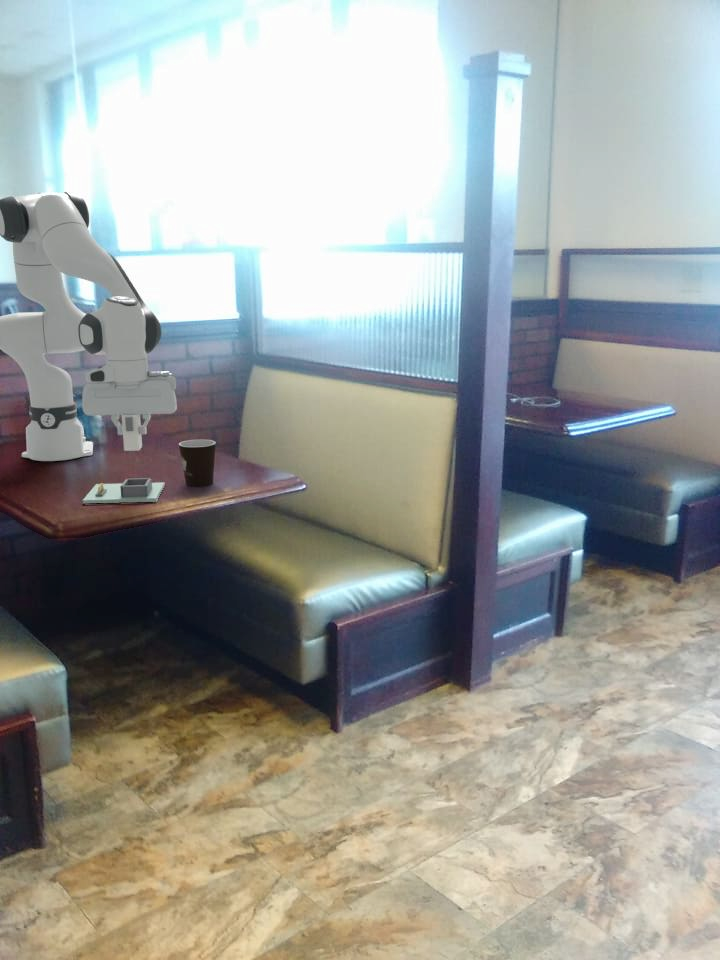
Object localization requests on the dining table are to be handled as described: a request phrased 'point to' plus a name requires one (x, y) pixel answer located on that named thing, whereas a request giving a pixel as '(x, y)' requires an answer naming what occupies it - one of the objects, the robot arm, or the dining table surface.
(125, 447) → the plug
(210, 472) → the coffee mug
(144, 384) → the robot arm
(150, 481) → the board
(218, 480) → the dining table surface
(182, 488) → the dining table surface
